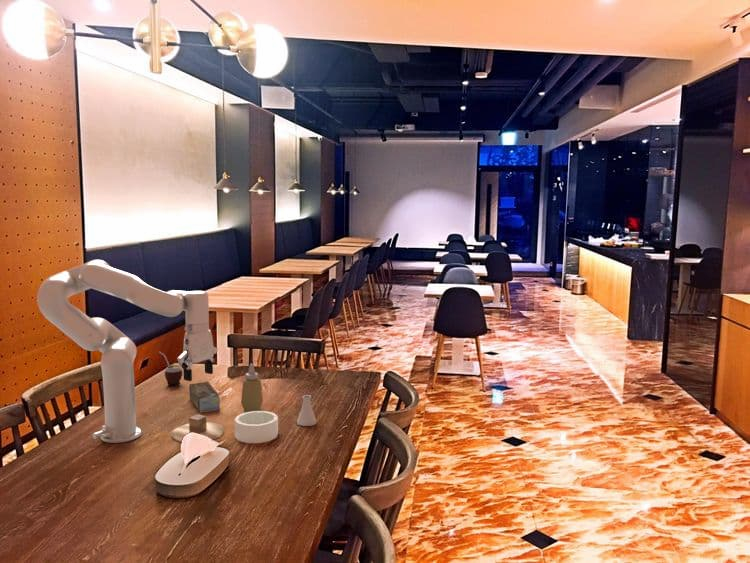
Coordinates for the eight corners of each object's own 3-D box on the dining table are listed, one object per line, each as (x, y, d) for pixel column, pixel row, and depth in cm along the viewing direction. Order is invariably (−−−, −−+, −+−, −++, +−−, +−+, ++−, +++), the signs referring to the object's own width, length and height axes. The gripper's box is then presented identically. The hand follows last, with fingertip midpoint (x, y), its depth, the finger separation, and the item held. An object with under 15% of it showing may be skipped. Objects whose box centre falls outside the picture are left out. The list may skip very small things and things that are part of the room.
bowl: (259, 446, 201) (259, 428, 200) (226, 437, 208) (226, 420, 207) (285, 432, 213) (285, 415, 212) (253, 424, 220) (253, 408, 219)
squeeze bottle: (265, 407, 238) (265, 362, 235) (259, 414, 230) (259, 367, 227) (244, 406, 238) (244, 361, 236) (238, 413, 230) (237, 366, 228)
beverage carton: (198, 413, 231) (198, 396, 230) (188, 398, 247) (188, 382, 247) (220, 410, 234) (220, 393, 233) (209, 396, 251) (208, 380, 250)
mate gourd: (186, 384, 265) (185, 350, 263) (171, 389, 258) (170, 354, 256) (174, 381, 269) (173, 347, 267) (159, 386, 262) (158, 351, 260)
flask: (313, 427, 218) (313, 400, 217) (293, 425, 219) (293, 398, 218) (319, 420, 225) (319, 394, 224) (300, 418, 226) (300, 392, 225)
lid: (198, 448, 200) (198, 429, 199) (160, 437, 208) (160, 420, 207) (234, 431, 214) (233, 414, 214) (197, 422, 222) (197, 405, 222)
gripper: (186, 333, 199) (187, 385, 202) (223, 324, 214) (224, 372, 217) (169, 330, 203) (171, 381, 205) (207, 322, 218) (208, 369, 220)
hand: (198, 376), depth 211 cm, fingers open, 9 cm apart
